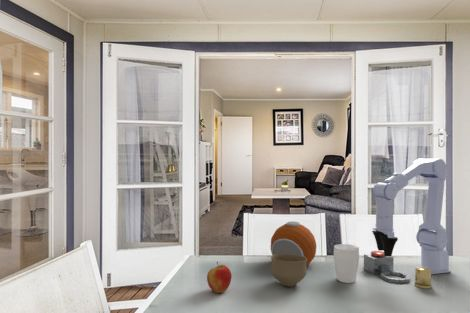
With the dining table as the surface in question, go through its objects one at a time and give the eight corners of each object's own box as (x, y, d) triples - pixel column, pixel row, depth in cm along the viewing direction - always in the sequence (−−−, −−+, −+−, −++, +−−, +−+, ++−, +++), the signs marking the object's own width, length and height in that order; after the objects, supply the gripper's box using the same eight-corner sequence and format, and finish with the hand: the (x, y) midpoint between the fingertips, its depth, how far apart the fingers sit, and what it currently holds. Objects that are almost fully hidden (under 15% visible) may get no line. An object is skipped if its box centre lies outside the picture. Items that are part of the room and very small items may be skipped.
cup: (361, 285, 124) (361, 251, 124) (334, 283, 126) (334, 249, 126) (357, 276, 133) (357, 244, 133) (332, 274, 135) (332, 243, 135)
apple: (222, 298, 113) (222, 267, 113) (202, 293, 118) (202, 263, 118) (236, 290, 120) (235, 260, 120) (216, 285, 125) (216, 256, 125)
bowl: (309, 280, 129) (309, 253, 129) (304, 293, 117) (304, 263, 117) (275, 276, 133) (275, 250, 133) (267, 288, 121) (267, 259, 121)
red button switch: (378, 264, 147) (378, 248, 147) (415, 281, 128) (415, 262, 128) (358, 267, 144) (358, 249, 144) (393, 284, 125) (393, 264, 125)
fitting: (423, 282, 127) (423, 265, 127) (435, 288, 122) (435, 270, 122) (411, 284, 125) (411, 267, 125) (422, 289, 120) (423, 272, 120)
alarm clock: (322, 261, 151) (322, 221, 151) (308, 273, 136) (308, 228, 136) (280, 255, 161) (280, 217, 161) (263, 265, 146) (263, 223, 146)
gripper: (367, 212, 137) (367, 247, 137) (379, 219, 122) (379, 258, 123) (386, 212, 136) (386, 247, 136) (400, 219, 122) (400, 259, 122)
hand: (384, 253), depth 130 cm, fingers open, 7 cm apart
